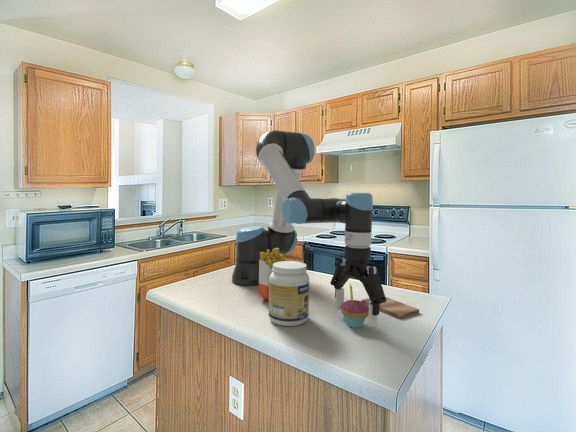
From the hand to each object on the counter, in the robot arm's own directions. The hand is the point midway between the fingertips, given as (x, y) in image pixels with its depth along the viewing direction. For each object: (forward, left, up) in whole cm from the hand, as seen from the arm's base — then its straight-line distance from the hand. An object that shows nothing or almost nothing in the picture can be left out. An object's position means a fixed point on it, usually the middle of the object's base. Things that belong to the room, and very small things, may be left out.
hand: (355, 317), depth 91 cm
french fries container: (-31, -10, -2) cm, 33 cm away
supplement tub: (-13, -15, -2) cm, 20 cm away
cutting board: (-4, +20, -2) cm, 21 cm away
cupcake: (0, 0, -2) cm, 2 cm away
